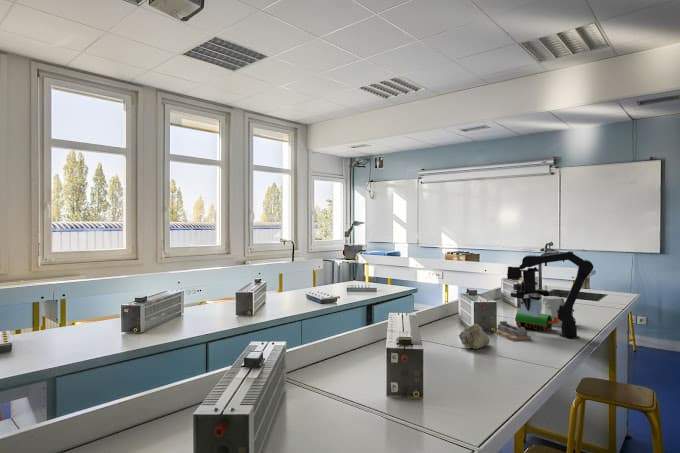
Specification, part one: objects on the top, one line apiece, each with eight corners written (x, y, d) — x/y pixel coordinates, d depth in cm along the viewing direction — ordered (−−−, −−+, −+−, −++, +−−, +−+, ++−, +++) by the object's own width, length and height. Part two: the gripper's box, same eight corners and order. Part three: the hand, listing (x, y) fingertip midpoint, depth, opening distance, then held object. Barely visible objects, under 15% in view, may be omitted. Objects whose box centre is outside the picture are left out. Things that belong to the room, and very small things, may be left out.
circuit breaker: (576, 325, 220) (575, 298, 220) (550, 326, 220) (549, 298, 221) (569, 322, 228) (568, 295, 228) (543, 323, 228) (542, 296, 228)
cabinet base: (530, 339, 196) (530, 327, 197) (512, 341, 194) (512, 329, 195) (506, 329, 216) (505, 319, 216) (489, 331, 214) (488, 320, 214)
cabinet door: (540, 316, 201) (540, 300, 201) (534, 317, 201) (534, 301, 201) (524, 312, 213) (524, 297, 213) (519, 312, 212) (519, 297, 212)
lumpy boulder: (497, 351, 184) (475, 345, 177) (477, 354, 192) (455, 349, 185) (494, 326, 190) (473, 320, 183) (474, 331, 198) (453, 325, 191)
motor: (514, 327, 218) (554, 333, 204) (515, 310, 219) (555, 315, 205) (521, 326, 225) (561, 332, 211) (522, 310, 226) (561, 315, 212)
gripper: (534, 277, 217) (535, 306, 217) (503, 279, 213) (504, 308, 213) (549, 279, 206) (550, 310, 206) (516, 281, 202) (518, 313, 202)
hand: (530, 310), depth 207 cm, fingers closed on cabinet door, 2 cm apart
